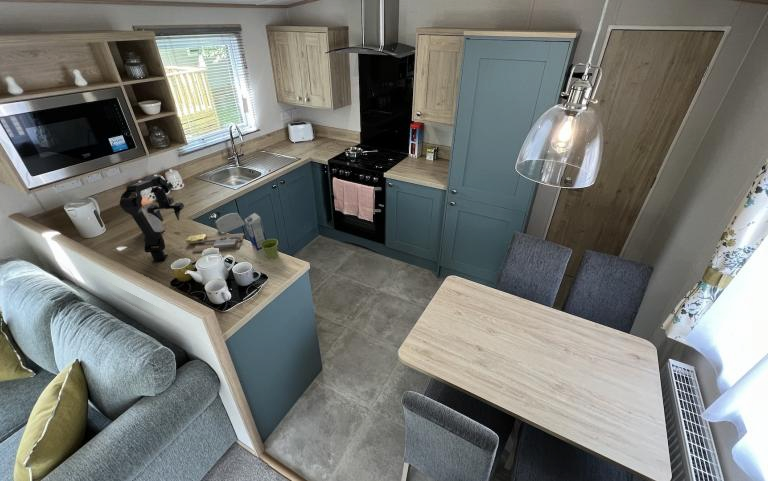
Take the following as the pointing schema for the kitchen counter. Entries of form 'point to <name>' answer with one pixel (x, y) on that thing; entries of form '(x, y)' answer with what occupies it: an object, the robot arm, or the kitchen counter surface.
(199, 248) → the hinge bed
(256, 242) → the milk carton
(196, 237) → the brass leaf
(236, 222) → the grey rounded flat block
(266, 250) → the plant pot
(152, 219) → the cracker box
